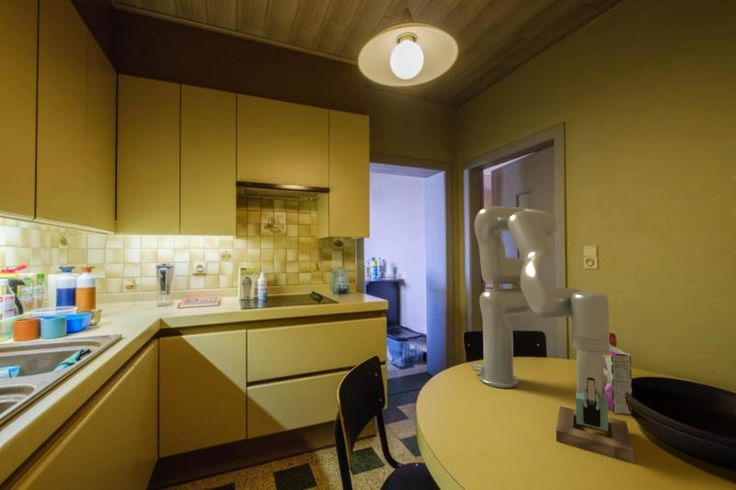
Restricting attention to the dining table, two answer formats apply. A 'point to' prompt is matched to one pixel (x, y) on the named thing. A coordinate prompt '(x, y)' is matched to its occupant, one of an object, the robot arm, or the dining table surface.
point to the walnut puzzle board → (595, 436)
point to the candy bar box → (617, 379)
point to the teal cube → (602, 407)
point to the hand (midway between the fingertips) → (591, 417)
